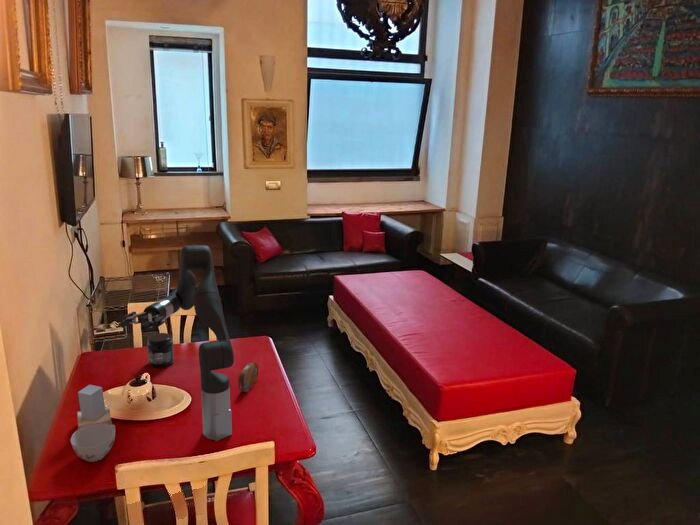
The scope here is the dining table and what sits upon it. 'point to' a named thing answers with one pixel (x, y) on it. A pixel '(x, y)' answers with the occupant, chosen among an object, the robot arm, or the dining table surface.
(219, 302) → the robot arm
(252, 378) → the tin
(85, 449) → the teacup
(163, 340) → the supplement container
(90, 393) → the pale blue tall cuboid
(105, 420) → the birch block
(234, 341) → the dining table surface
